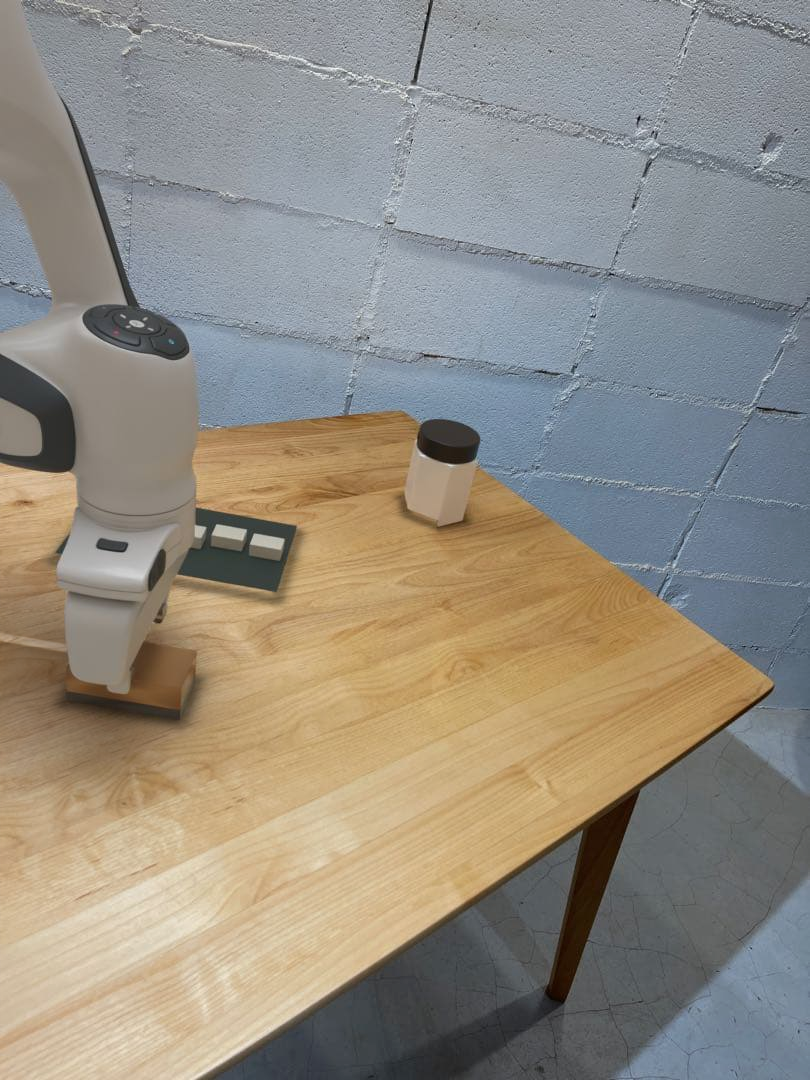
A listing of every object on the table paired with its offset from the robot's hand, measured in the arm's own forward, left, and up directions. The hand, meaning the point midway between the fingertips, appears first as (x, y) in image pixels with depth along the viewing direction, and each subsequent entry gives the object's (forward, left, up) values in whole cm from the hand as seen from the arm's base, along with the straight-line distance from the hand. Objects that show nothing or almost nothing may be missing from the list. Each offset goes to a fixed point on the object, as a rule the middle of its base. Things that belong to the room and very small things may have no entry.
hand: (139, 651), depth 72 cm
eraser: (-1, 0, -5) cm, 5 cm away
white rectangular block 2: (+2, +24, -4) cm, 25 cm away
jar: (+26, +43, -5) cm, 51 cm away
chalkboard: (-3, +24, -5) cm, 25 cm away
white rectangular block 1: (-2, +23, -4) cm, 24 cm away
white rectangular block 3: (+7, +24, -4) cm, 25 cm away
